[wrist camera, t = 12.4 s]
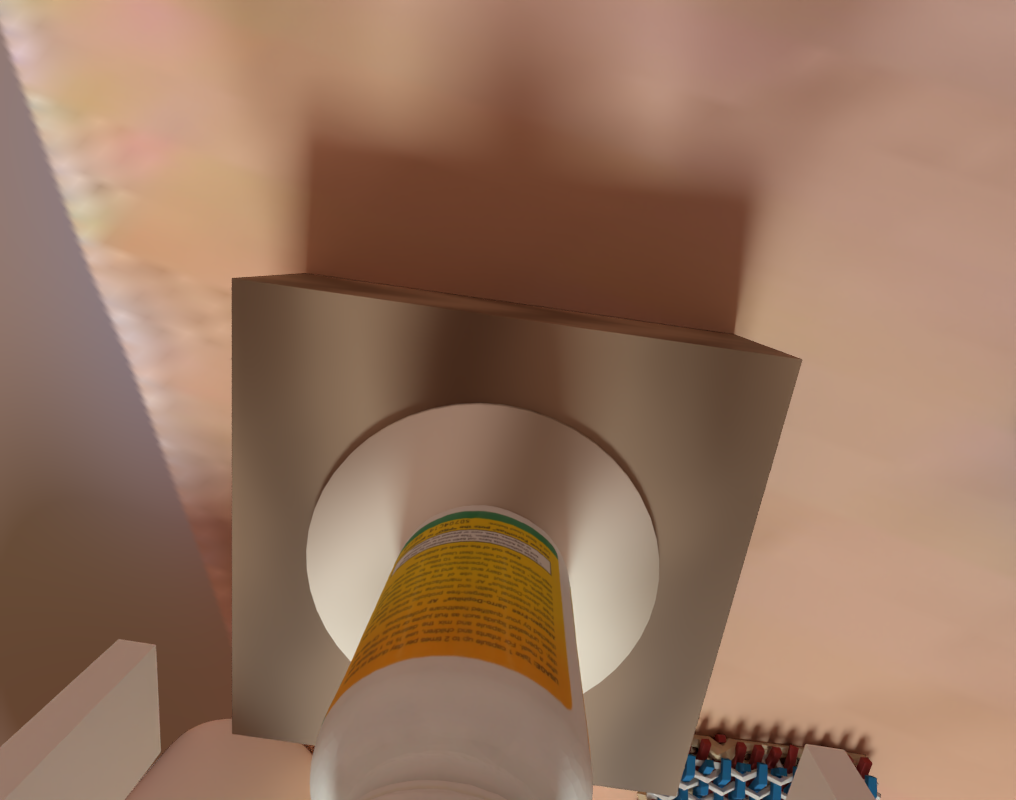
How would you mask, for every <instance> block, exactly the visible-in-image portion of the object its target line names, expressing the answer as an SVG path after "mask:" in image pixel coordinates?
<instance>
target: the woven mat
mask: <svg viewBox="0 0 1016 800" xmlns="http://www.w3.org/2000/svg"><path fill="white" fill-rule="evenodd" d="M691 746H693V747H697V748H698V753H697V754H690V751H691V747H690V750H689V753H688V757H687V760H686V764H685V767H684V771H683V774H682V778H681V781H680V785H679V788H678V791H677V795H676V797H675V796H667V795H660V794H653V793H646V792H639V791H638V792H637V796H638V799H639V800H786V797H787V794H788V792H789V789H790V786H791V783H792V781H793V778H794V775H795V772H796V770H797V767H798V766H795V764H796V759H800V758H801V756H802V753H803V750H804V747H796V746H794V745H792V744H790V746H787V745H779V744H770V743H762V742H753V741H745V740H737V739H731V738H728V739H726V737H725V735H722V734H717V735H715V737H714V739H712V738H711V737H709V736H701V735H694V736H693V740H692V743H691ZM746 753H749V754H751V757H750V760H749V761H747V760H744V757H745V754H746ZM846 753H847V755H848V756H849V758H850V760H851V761H852V763H853V764H854V765H857V767H856V769H857V771H858V772H859V774H860V775H861V777H862V779H863V780H864V782H865V783H866V785H867V786H868V788H869V790H870V791H871V793H872V794H873V796H874V798H875V799H878V800H880V798H881V794H880V793H878V792H877V785H878V783H877V778H875V777H873V776H869V775H868V774H869V771H870V769H871V766H872V762H871V761H870V760H869V759H868V757H866V755H861V754H855V753H849V752H846ZM780 757H783V758H786V760H785V763H784V765H782V764H781V762H780V760H779V759H780ZM769 794H770V795H769Z"/></svg>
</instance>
